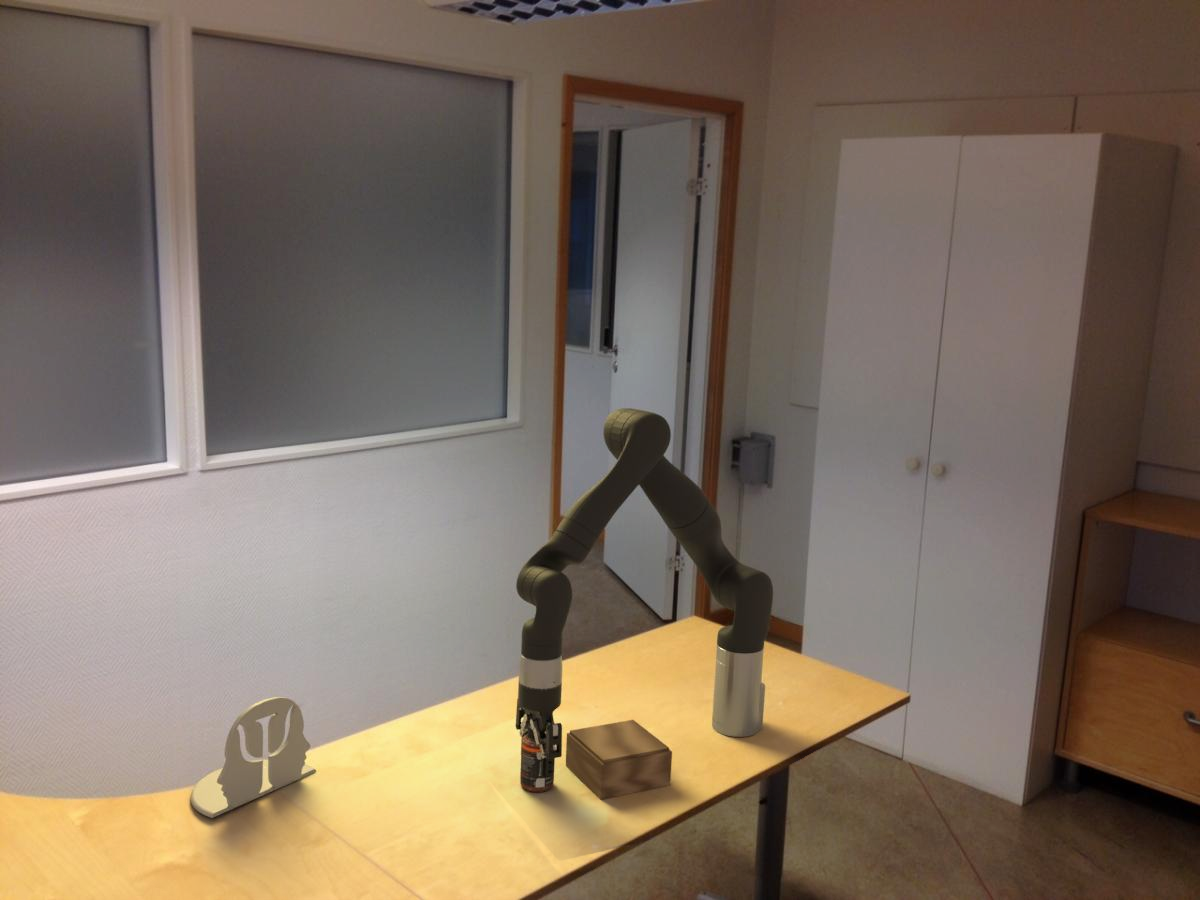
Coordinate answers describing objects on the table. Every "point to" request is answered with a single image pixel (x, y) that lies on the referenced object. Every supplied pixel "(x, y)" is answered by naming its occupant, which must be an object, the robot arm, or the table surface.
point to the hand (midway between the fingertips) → (536, 766)
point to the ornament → (250, 777)
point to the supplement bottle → (533, 765)
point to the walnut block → (618, 759)
